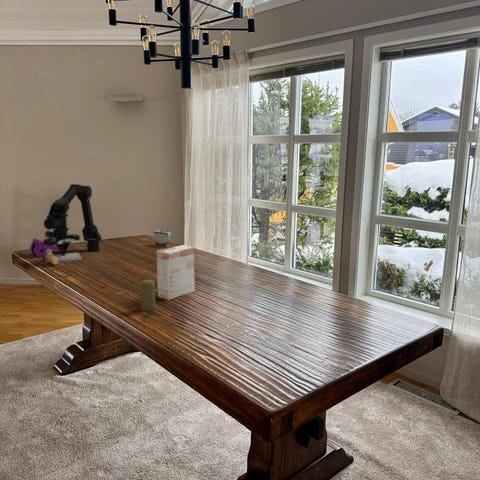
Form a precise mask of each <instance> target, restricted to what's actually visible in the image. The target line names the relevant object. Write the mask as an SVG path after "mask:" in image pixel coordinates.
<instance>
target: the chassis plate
mask: <svg viewBox="0 0 480 480" xmlns="http://www.w3.org/2000/svg"><path fill="white" fill-rule="evenodd" d="M53 254H54V253H53ZM54 255H55V256H56V257H57V258H58V263H59V262H65V261H66V262H67V261H68V262H69V260H70V261H78V260H82V256H81V254H80V252H70V253H69V252H68V253H67V252H66V253H65V255H64V256H62V255H61V253H58V254H57V253H55V254H54ZM44 260H45V261H44V262H45V263H51V262H50V261H49V260H48V259H47V258H46V255H45V257H44Z"/></svg>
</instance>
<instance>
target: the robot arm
mask: <svg viewBox="0 0 480 480" xmlns="http://www.w3.org/2000/svg"><path fill="white" fill-rule="evenodd" d="M92 192H93V191H92V188H91V186H90V185H82V184H80V183H79V184H78V183H76V184H75V183H72V184H70V185H69V188H68V189H67V190H66V191H65V193H64V194H63V195H62V196H61V198H58V199H56V200H55V201H53V203H52V204H51V205H50V209H49V212H48V215H47V216H46V219H44V221H43V226H44V228H45V229H47V230H46V231H45V232H44V235H45V238H44V239H43V240H42V241H43V245H49V246H52V245H55V246H57V247H58V249H59V251H60V252H59V251H58V252H59V254H61V255H62V256H64V255H65V254H66V253H67V250H68V249H69V246H70V244H72V241H70V240H74V241H80V240H81V239H80V235H79V234H77V233H69V234H68V231H69V230H70V228H68V224H67V223H68V222H67V221H68V220H67V218H68V217H69V214H68V211H69V210H70V203H71V202H72V201H73V200H74V199H75V197H76V198H77V200H78V201H80V204H81V211H82V216H83V217H82V218H83V223H84V226H83V228H82V230H81V232H82V236H83V240H84V242H86V243H85V244H86V245H85V246H86V251H87V252H88V253H93V252H100V242H101V241H102V238H103V237H102V235H101V234H100V232H99V229H98V227H97V225H95V223H94V218H93V214H92V207H91V198H92V195H93V194H92ZM51 230H52V231H51Z"/></svg>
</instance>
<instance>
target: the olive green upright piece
mask: <svg viewBox="0 0 480 480" xmlns="http://www.w3.org/2000/svg"><path fill="white" fill-rule="evenodd" d="M155 286H156V285H155V281H154V280H152V279H143V280H141V282H140V289H141V299H140V305H139V306H140V307H139V309H140V310H141V311H143V312H151V311H154V310H156V309H157V303H156V298H155V296H156V295H155V292H154V289H155Z"/></svg>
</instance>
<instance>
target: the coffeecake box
mask: <svg viewBox="0 0 480 480" xmlns="http://www.w3.org/2000/svg"><path fill="white" fill-rule="evenodd" d="M156 276H157V277H156V278H157V297H159V298H162V299H165V300H168V301H169V300H172V299H176V298H178V297H181V296H184V295H188V294H190V293H191V294H192V293H193V292H195V291H196V290H195V288H196V287H195V247H194V246H189V245H185V244H182V245H177V246H172V247H169V248H163V249H159V250H156Z"/></svg>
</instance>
